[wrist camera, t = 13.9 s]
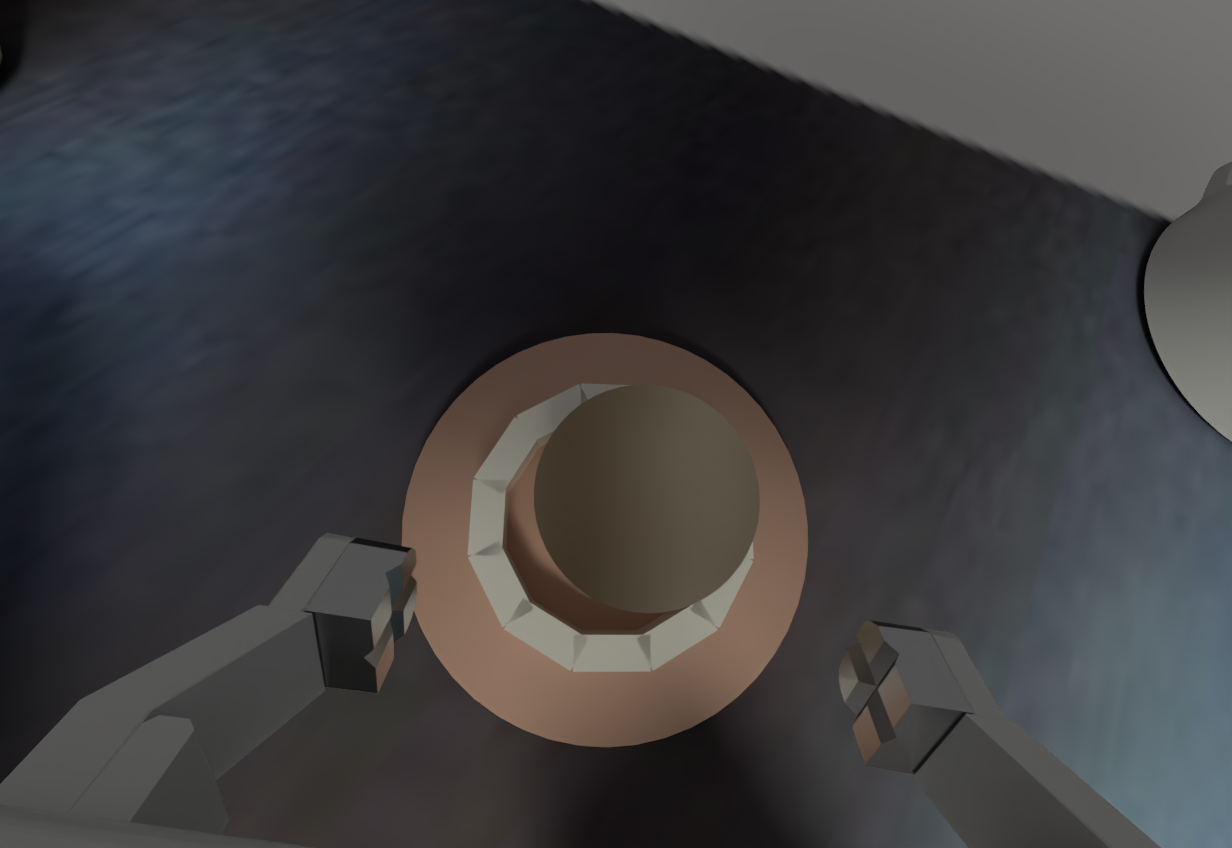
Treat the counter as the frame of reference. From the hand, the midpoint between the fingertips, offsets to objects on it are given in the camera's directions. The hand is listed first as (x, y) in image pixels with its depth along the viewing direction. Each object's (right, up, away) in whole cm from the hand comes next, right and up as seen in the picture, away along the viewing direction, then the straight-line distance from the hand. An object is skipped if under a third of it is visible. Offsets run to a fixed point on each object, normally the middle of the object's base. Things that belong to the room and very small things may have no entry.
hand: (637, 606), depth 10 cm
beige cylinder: (-1, -1, +12) cm, 12 cm away
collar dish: (-1, -1, +13) cm, 13 cm away
